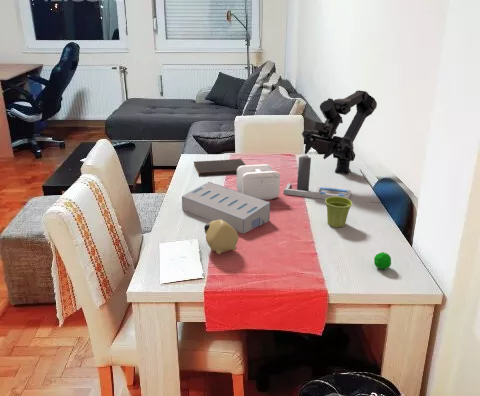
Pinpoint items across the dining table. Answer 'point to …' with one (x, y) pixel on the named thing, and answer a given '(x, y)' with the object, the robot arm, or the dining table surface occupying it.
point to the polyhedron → (382, 260)
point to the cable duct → (317, 193)
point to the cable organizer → (258, 181)
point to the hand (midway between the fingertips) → (314, 156)
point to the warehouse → (227, 206)
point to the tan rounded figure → (221, 236)
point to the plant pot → (337, 210)
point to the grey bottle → (303, 173)
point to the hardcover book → (218, 167)
